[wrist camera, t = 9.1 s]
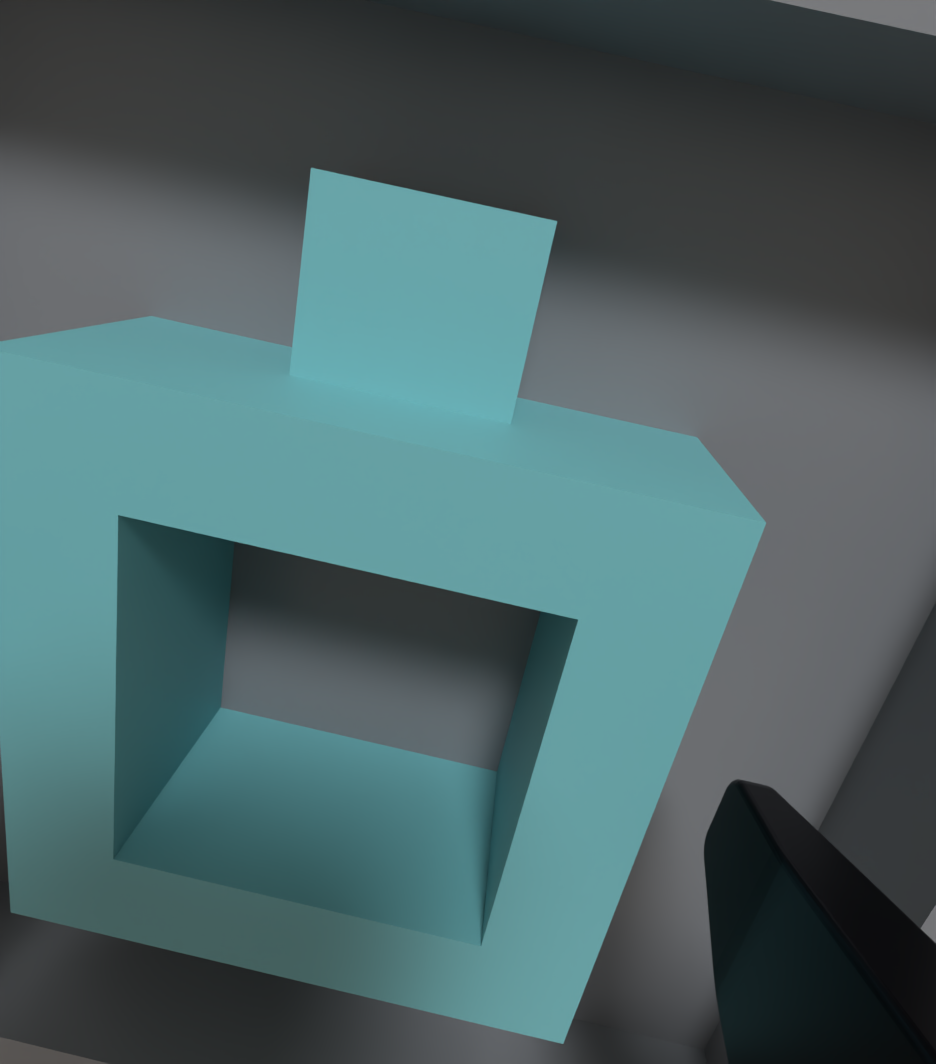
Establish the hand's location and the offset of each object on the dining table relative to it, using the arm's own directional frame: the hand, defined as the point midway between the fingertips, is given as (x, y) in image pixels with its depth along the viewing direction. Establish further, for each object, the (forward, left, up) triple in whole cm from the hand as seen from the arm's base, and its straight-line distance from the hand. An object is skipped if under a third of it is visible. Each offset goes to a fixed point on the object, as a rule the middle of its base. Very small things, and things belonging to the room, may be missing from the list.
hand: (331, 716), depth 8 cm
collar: (0, 0, -2) cm, 2 cm away
